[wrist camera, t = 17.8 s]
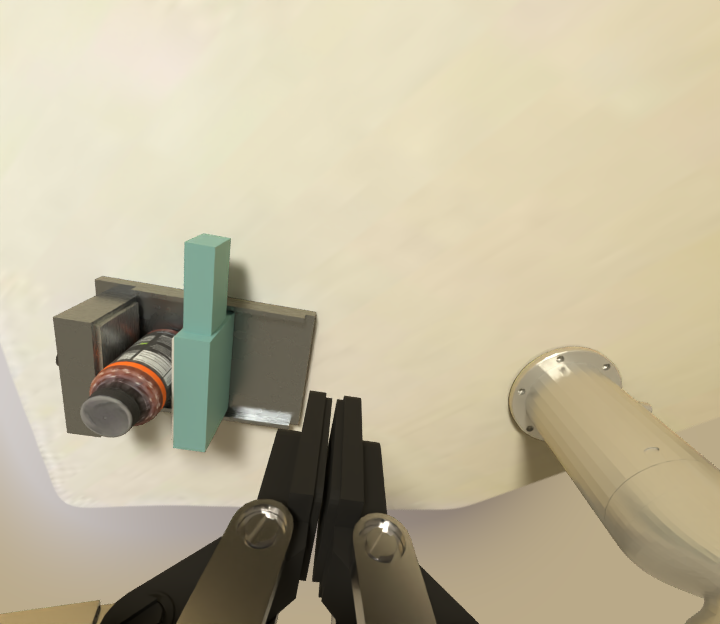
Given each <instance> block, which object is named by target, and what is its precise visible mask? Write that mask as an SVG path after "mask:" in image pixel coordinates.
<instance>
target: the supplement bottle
mask: <svg viewBox="0 0 720 624" xmlns="http://www.w3.org/2000/svg"><path fill="white" fill-rule="evenodd" d="M177 333H178V332H177V331H175V330H171V329H157V330H154V331H151V332H150V333H148V334H146V335H145V336H143V337H142V338H141V339H140V340H138V341H137V342H136V343H135V344H134V345H132V346H131V347H130V348H129V349H127V350H126V351H125V352H124V353H122V354H121V355H120V356H119V357H118V358H116V359H115V360H114V361H113V362H111V363H110V364H109V365H108V366H106V367H105V368H104V369H103V370H102V371H100V372H99V373H98V375H97V376H96V377H95V378H94V380H93V381H92V383H91V386H90V391H89V394H90V397H89V398H88V399H87V400H86V401H85V402H84V403H83V404H82V406H81V410H80V415H81V418H82V421H83V423H84V424H85V425H86V427H88V428H89V429H90V430H91V431H93V432H95V433H96V434H98V435H101V436H104V437H118V436H121V435H124V434H125V433H127V432H128V431H129V430H130V429H131V428H132V427H133V426H138V425H143V424H145V423H147V422H149V421H150V420H152V419H153V418H154V417H155V416H156V415H157V414H158V413H159V412H160V410H161V409H162V408H163V407H164V406H165V404H166V403H167V402H168V400H169V399H170V398H171V397H172V338H173V337H174V336H175V335H176V334H177Z"/></svg>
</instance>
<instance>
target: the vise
mask: <svg viewBox="0 0 720 624" xmlns="http://www.w3.org/2000/svg"><path fill="white" fill-rule="evenodd" d="M95 287H96V296H94V297H92V298H90V299H88V300H86V301H84V302H82V303H80V304H78V305H76V306H74V307H72V308H70V309H68V310H66V311H64V312H62V313H60V314H58V315H56V316H54V317H53V322H54V330H55V338H56V346H57V357H56V363H57V365H58V366H59V370H60V378H61V386H62V394H63V402H64V411H65V419H66V427H67V433H72V434H79V435H87V436H94V437H101V435H98V434H96V433H95V432H93V431H91V430H90V429H89V428H88V427H86V425H85V424H84V423H83V421H82V418H81V415H80V410H81V406H82V404H83V403H84V402H85V401H86V400H87V399H88V398H89V397H90V394H89V391H90V386H91V383H92V381H93V380H94V378H95V377H96V376H97V375H98V373H99V372H100V371H102V370H103V369H104V368H105V367H106V366H108V365H109V364H110V363H111V362H113V361H114V360H115V359H116V358H118V357H119V356H120V355H121V354H122V353H124V352H125V351H126V350H127V349H129V348H130V347H131V346H132V345H134V344H135V343H136V342H137V341H138V340H140V339H141V338H142V337H143V336H145V335H146V334H148V333H150V332H151V331H154V330H157V329H171V330H175V331H177V332H179V331H181V330H182V329H183V314H184V290H182V289H176V288H170V287H165V286H159V285H153V284H147V283H141V282H135V281H129V280H123V279H117V278H111V277H105V276H102V277H99V278H97V279H95ZM226 311H230V312H235V316H234V331H233V345H232V359H231V374H230V388H229V403H228V409H227V411H226V413H225V415H224V417H223V419H222V420H227V421H234V422H241V423H248V424H255V425H262V426H269V427H276V428H283V429H289V425H290V424H296V425H298V424H299V419H300V413H301V407H302V400H303V394H304V387H305V381H306V375H307V368H308V362H309V355H310V349H311V343H312V336H313V330H314V323H315V317H316V312H313V311H307V310H301V309H295V308H289V307H283V306H277V305H271V304H265V303H260V302H254V301H248V300H242V299H236V298H230V297H227V308H226ZM160 411H163V412H170V413H172V397H171V398H170V399H169V400H168V402H167V403H166V404H165V406H164V407H163V408H162V409H161V410H160Z"/></svg>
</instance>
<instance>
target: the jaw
mask: <svg viewBox="0 0 720 624" xmlns="http://www.w3.org/2000/svg"><path fill="white" fill-rule="evenodd" d="M230 242H231V238H226V237H220V236H215V235H209V234H201V235H199V236H197V237H195V238H192V239H190V240H188V241H186V242H185V248H184V314H183V329H182V330H181V331H179V332H178V333H177V334H176V335H175V336H174V337H173V338H172V440H173V448H178V449H185V450H193V451H200V452H205V451H206V449H207V448H208V446H209V444H210V442H211V440H212V438H213V436H214V434H215V432H216V430H217V428H218V427H219V425H220V423H221V421H222V419H223V417H224V415H225V413H226V411H227V409H228V403H229V388H230V374H231V359H232V345H233V331H234V316H235V312H230V311H226V308H227V292H228V275H229V259H230Z"/></svg>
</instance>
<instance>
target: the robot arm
mask: <svg viewBox="0 0 720 624" xmlns="http://www.w3.org/2000/svg"><path fill="white" fill-rule="evenodd" d="M331 406H332V398H326V393H323V392H317V391H310V393H309V398H308V403H307V408H306V413H305V418H304V423H303V428H302V432H299V431H292V430H285V429H278V430H277V433H276V437H275V440H274V444H273V447H272V451H271V454H270V457H269V461H268V464H267V468H266V471H265V475H264V478H263V481H262V485H261V488H260V492H259V495H258V498H257V500H254V501H251V502H249V503H246V504H245V505H244V506H242V507H241V508H240V509H239V510H238V511H237V512H236V513H235V515H234V516H233V517H232V519H231V521H230V523H229V525H228V527H227V529H226V530H225V533H224V534H223V536H222V537H220V538H218V539H217V540H215V541H213V542H212V543H210V544H208V545H207V546H205V547H204V548H202V549H200V550H199V551H197V552H195V553H194V554H192V555H190V556H189V557H187V558H185V559H184V560H182V561H180V562H179V563H177V564H175V565H174V566H172V567H170V568H169V569H167V570H165V571H164V572H162V573H160V574H159V575H157V576H156V577H154V578H152V579H151V580H149V581H147V582H146V583H144V584H142V585H141V586H139V587H137V588H136V589H134V590H132V591H131V592H129V593H128V594H126V595H125V596H124V597H122V598H121V599H120V600H118V601H117V602H116V603H113V604H105V605H100V600H96V601H88V602H81V603H74V604H67V605H60V606H53V607H46V608H38V609H31V610H24V611H17V612H10V613H3V614H0V624H276V623H277V620H278V614H279V612H280V611H281V610H283V609H284V608H285V607H286V606H287V605H288V604H290V603H291V602H292V601H293V600H294V599H295V598H296V594H297V589H298V583H299V580H303V581H306V577H307V573H308V567H309V563H310V557H311V553H312V548H313V543H314V538H315V533H316V528H317V523H318V528H317V538H316V548H315V558H314V568H313V578H312V581H313V582H320V585H319V597H321V598H322V602H323V604H324V605H325V606H326V607H327V609H328V610H329V612H330V613H331V614H332V618H331V624H479V623H478V622H477V621H475V619H474V618H473V617H472V616H471V615H470V614H469V613H468V612H467V611H466V610H465V609H464V608H463V607H462V606H461V605H459V603H457V601H455V600H454V599H453V598H452V597H451V596H450V595H449V594H448V593H447V592H446V591H445V590H444V589H443V588H442V587H441V586H440V585H439V584H438V583H437V582H436V581H435V580H434V579H433V578H432V577H431V576H430V575H429V574H428V573H427V572H426V571H425V570H424V569H423V568H422V567H421V566H420V565H419V563H418V560H417V557H416V554H415V550H414V547H413V544H412V540H411V538H410V535H409V533H408V531H407V530H406V529H405V527H404V526H403V525H402V524H401V523H400V522H399V521H398V520H396V519H395V518H394V517H391V516H389V515H387V509H386V498H385V488H384V477H383V466H382V456H381V446H380V443H377V442H370V441H363V440H362V409H361V398H357V397H350V396H344V399H343V400H339V399H337V403H336V408H335V413H334V418H333V423H332V428H331V433H330V438H329V427H330V417H331ZM509 407H510V411H511V414H512V416H513V418H514V420H515V422H516V423H517V424H518V426H519V427H520V429H522V430H523V431H524V432H525V433H526V434H528V435H530V436H531V437H533V438H536V439H539V440H542V441H545V442H546V443H547V444H548V446H549V447H550V449H551V450H552V452H553V453H554V454H555V456H556V457H557V459H558V460H559V462H560V463H561V465H562V466H563V467H564V469H565V470H566V472H567V473H568V475H569V476H570V477H571V479H572V480H573V482H574V483H575V485H576V486H577V487H578V489H579V490H580V492H581V493H582V495H583V496H584V498H585V499H586V500H587V502H588V503H589V505H590V506H591V508H592V509H593V510H594V512H595V513H596V515H597V516H598V518H599V519H600V521H601V522H602V523H603V525H604V526H605V528H606V529H607V530H608V532H609V533H610V535H611V536H612V538H613V539H614V541H615V542H616V543H617V545H618V546H619V548H620V549H621V550H622V551H623V552H624V554H625V555H626V556H627V557H628V558H629V559H630V560H631V561H632V562H633V563H634V564H636V565H637V566H638V567H639V568H641V569H642V570H643V571H645V572H646V573H648V574H650V575H651V576H653V577H655V578H657V579H658V580H660V581H662V582H664V583H666V584H668V585H671V586H673V587H675V588H678V589H680V590H683V591H686V592H688V593H691V594H693V595H696V596H699V597H701V598H704V606H703V607H702V609H701V610H700V611H699V612H698V613H696V614H695V615H694V616H692V617H691V618H689V619H688V620H687V621H686V623H685V624H720V470H719V469H718V468H717V467H716V466H714V465H713V464H712V463H711V462H710V461H708V460H707V459H706V458H705V457H704V456H702V455H701V454H700V453H699V452H697V451H696V450H695V449H694V448H693V447H691V446H690V445H689V444H688V443H687V442H685V441H684V440H683V439H682V438H681V437H679V436H678V435H677V434H676V433H675V432H673V431H672V430H671V429H670V428H669V427H667V426H666V425H665V424H664V423H663V422H661V421H660V420H659V419H658V418H656V417H655V416H654V415H653V414H652V406H651V405H650V404H648V403H644V402H638V401H636V400H635V399H634V398H632V397H631V396H630V395H629V394H628V393H626V392H625V391H624V390H623V389H622V380H621V376H620V373H619V371H618V369H617V368H616V366H615V365H614V363H612V362H611V361H610V360H609V359H608V358H607V357H605V356H604V355H602V354H601V353H599V352H597V351H595V350H592V349H590V348H584V347H565V348H559V349H555V350H553V351H550V352H547V353H545V354H543V355H541V356H539V357H537V358H536V359H535V360H533V361H532V362H531V363H529V364H528V365H527V366H526V367H525V368H524V369H523V370H522V371H521V372H520V374H519V375H518V377H517V378H516V379H515V381H514V384H513V386H512V388H511V392H510V396H509ZM328 438H329V443H328ZM327 448H328V449H327Z"/></svg>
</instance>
